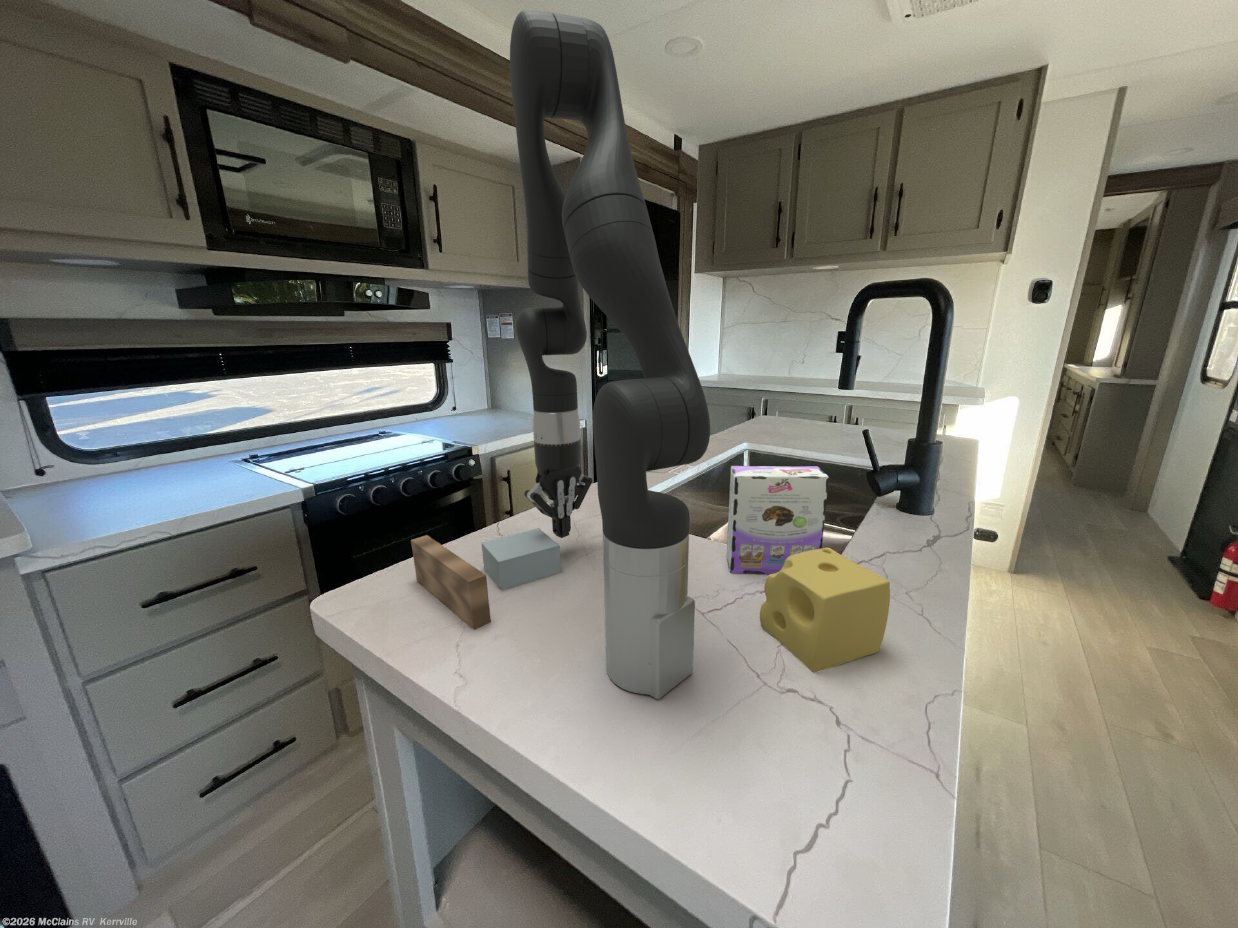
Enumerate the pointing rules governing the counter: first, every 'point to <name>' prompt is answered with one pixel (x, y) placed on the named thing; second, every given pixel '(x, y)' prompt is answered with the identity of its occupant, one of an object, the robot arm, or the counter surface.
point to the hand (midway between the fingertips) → (562, 535)
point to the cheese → (826, 608)
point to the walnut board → (452, 581)
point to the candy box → (774, 515)
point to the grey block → (521, 558)
